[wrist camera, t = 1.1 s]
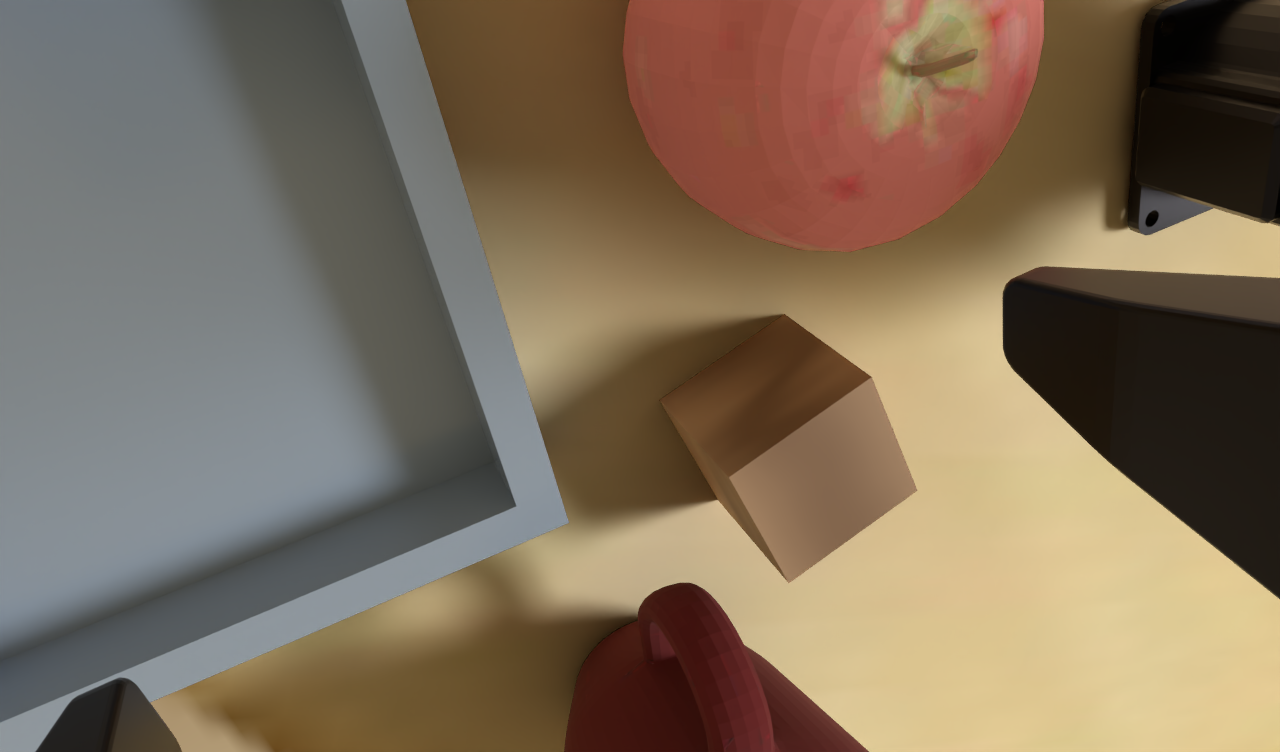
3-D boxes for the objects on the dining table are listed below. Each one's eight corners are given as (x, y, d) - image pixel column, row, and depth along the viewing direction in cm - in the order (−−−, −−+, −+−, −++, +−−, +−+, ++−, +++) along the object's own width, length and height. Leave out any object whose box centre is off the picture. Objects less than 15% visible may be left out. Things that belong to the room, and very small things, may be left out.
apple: (556, -169, 18) (760, -207, 11) (882, -174, 20) (1208, -207, 14) (578, 209, 21) (746, 349, 15) (856, 167, 24) (1107, 272, 17)
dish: (333, -162, 17) (352, -170, 15) (535, 466, 24) (569, 523, 22) (-642, 62, 13) (-804, 94, 11) (-65, 713, 21) (-97, 808, 18)
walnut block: (783, 313, 25) (871, 377, 22) (830, 418, 27) (917, 490, 24) (657, 398, 25) (728, 477, 21) (716, 498, 27) (789, 583, 24)
